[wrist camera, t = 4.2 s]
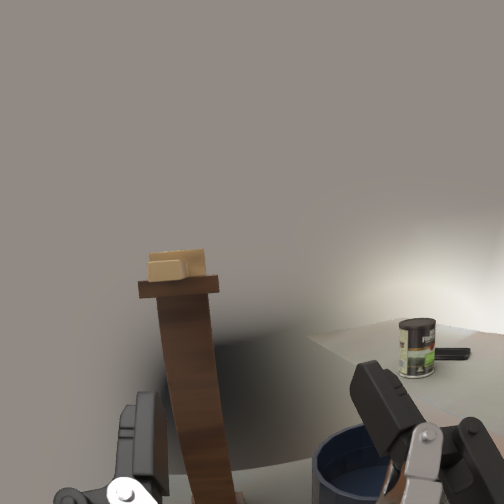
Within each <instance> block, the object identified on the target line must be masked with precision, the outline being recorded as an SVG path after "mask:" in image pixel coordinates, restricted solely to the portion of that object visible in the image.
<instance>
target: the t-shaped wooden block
mask: <svg viewBox="0 0 504 504" xmlns="http://www.w3.org/2000/svg"><path fill="white" fill-rule="evenodd" d="M147 266H148V279H149V282H159V281H172V280H181V279H185V278H188V277H196V276H206V267H205V254H204V249H193V250H180V251H168V252H156V253H149V262H148V263H147Z"/></svg>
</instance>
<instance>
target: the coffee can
mask: <svg viewBox="0 0 504 504" xmlns="http://www.w3.org/2000/svg"><path fill="white" fill-rule="evenodd" d="M435 324H436V320H434V319H431V318H414V319H408V320H404V321H401V322H400V323H399V374H400V375H401V376H403V377H406V378H422V377H426V376H429V375H431V374H432V373H433V372H434V354H435Z"/></svg>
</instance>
